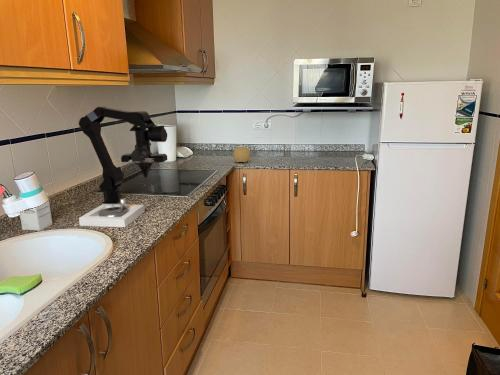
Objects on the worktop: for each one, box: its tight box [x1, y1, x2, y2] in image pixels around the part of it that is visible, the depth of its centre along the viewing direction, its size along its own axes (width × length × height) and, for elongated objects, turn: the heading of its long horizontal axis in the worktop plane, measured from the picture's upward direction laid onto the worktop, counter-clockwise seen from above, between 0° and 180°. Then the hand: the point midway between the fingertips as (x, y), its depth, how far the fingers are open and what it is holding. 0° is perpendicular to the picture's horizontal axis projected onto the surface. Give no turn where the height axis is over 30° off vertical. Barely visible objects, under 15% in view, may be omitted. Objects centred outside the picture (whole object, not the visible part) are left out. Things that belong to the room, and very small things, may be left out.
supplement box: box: [19, 192, 53, 232], centre depth 139 cm, size 7×7×13 cm
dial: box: [98, 197, 128, 217], centre depth 148 cm, size 11×11×6 cm
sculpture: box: [233, 146, 251, 163], centre depth 257 cm, size 12×12×11 cm
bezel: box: [78, 203, 146, 228], centre depth 149 cm, size 18×18×3 cm
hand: (146, 177), depth 164 cm, fingers closed
